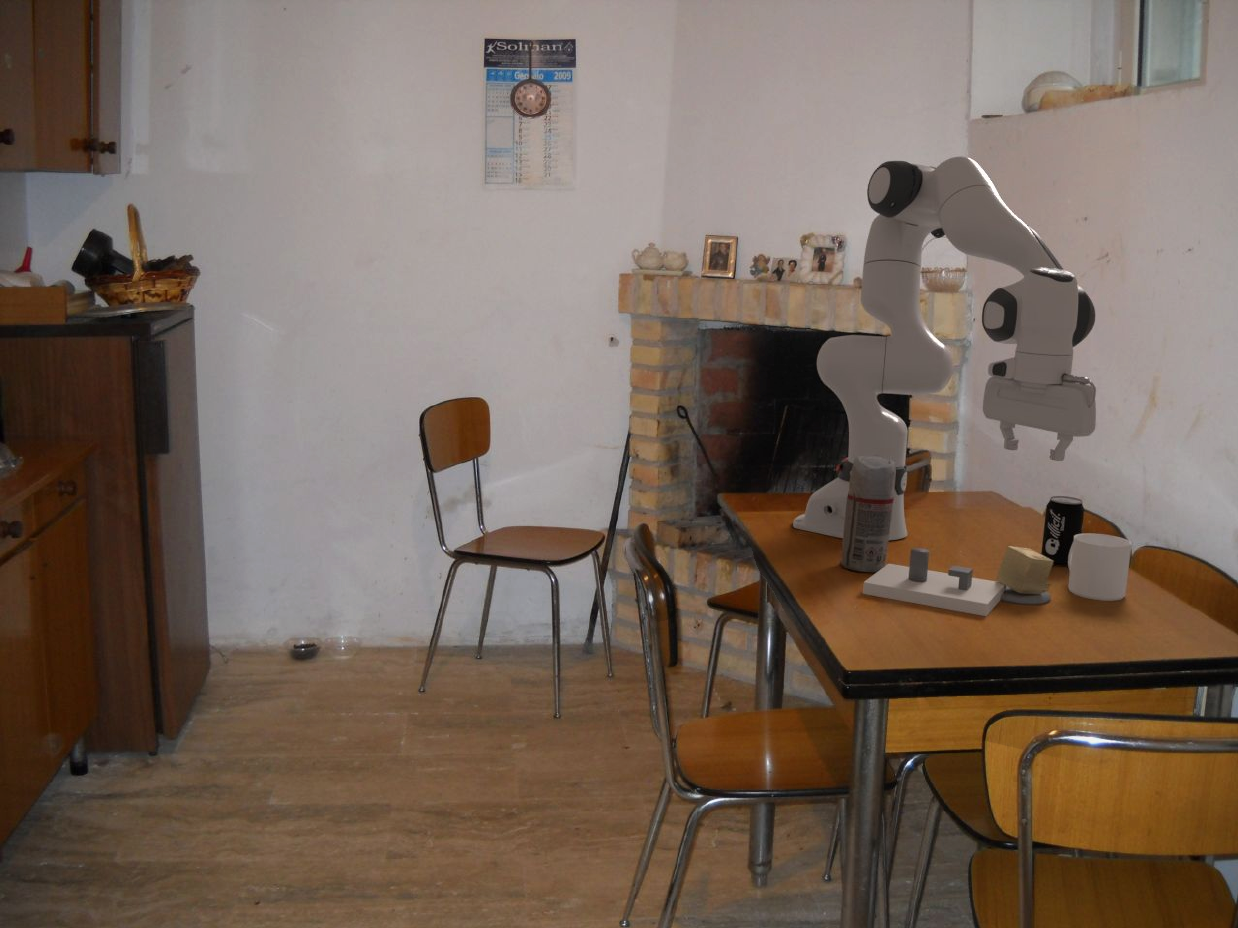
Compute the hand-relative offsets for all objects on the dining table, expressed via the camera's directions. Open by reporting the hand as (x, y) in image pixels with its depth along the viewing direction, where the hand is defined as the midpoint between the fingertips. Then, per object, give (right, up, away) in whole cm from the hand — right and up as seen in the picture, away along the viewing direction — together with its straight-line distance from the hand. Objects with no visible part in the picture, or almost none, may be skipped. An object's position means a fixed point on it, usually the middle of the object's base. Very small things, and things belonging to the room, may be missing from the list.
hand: (1033, 454), depth 196 cm
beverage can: (+14, -20, +27) cm, 36 cm away
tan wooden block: (0, -22, +5) cm, 23 cm away
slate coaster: (-1, -23, +4) cm, 24 cm away
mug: (+13, -23, +9) cm, 28 cm away
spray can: (-24, -20, +18) cm, 36 cm away
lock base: (-15, -23, +3) cm, 28 cm away
